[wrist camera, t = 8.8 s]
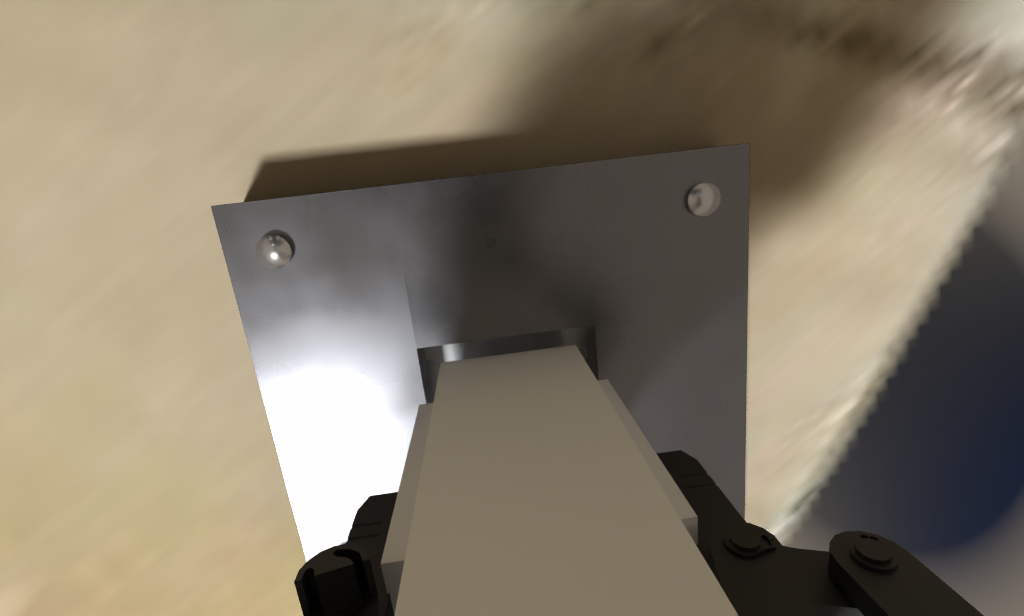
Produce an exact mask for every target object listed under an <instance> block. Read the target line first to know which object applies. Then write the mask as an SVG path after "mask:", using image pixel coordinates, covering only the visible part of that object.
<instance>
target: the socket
mask: <svg viewBox="0 0 1024 616" xmlns="http://www.w3.org/2000/svg"><path fill="white" fill-rule="evenodd" d="M749 162H750V143H746V144H737V145H729V146H720V147H712V148H703V149H695V150H686V151H678V152H669V153H660V154H652V155H643V156H635V157H626V158H618V159H609V160H601V161H592V162H583V163H575V164H566V165H558V166H549V167H541V168H532V169H524V170H515V171H506V172H498V173H489V174H481V175H472V176H464V177H455V178H447V179H438V180H430V181H421V182H412V183H404V184H395V185H387V186H378V187H370V188H361V189H353V190H344V191H335V192H327V193H318V194H310V195H301V196H293V197H284V198H276V199H267V200H259V201H250V202H241V203H233V204H224V205H216V206H211V208H212V212H213V216H214V219H215V223H216V227H217V230H218V234H219V238H220V242H221V245H222V249H223V253H224V256H225V260H226V264H227V268H228V271H229V275H230V279H231V282H232V286H233V290H234V293H235V297H236V301H237V305H238V308H239V312H240V316H241V319H242V323H243V327H244V331H245V334H246V338H247V342H248V345H249V349H250V353H251V357H252V360H253V364H254V368H255V371H256V375H257V379H258V382H259V386H260V390H261V394H262V397H263V401H264V405H265V408H266V412H267V416H268V420H269V423H270V427H271V431H272V434H273V438H274V442H275V445H276V449H277V453H278V457H279V460H280V464H281V468H282V471H283V475H284V479H285V483H286V486H287V490H288V494H289V497H290V501H291V505H292V508H293V512H294V516H295V520H296V523H297V527H298V531H299V534H300V538H301V542H302V546H303V549H304V553H305V557H306V560H307V561H308V560H309V559H311V558H312V557H314V556H315V555H316V554H318V553H319V552H321V551H323V550H326V549H328V548H331V547H333V546H337V545H343V544H345V543H346V542H347V538H348V535H349V532H350V529H351V528H352V524H353V521H354V518H355V515H356V512H357V510H358V509H359V508H360V506H361V505H362V504H363V503H364V502H365V501H366V500H367V499H368V497H369V496H372V495H379V494H386V493H393V492H398V490H399V486H400V482H401V478H402V474H403V470H404V465H405V461H406V457H407V453H408V449H409V445H410V441H411V437H412V433H413V428H414V424H415V420H416V416H417V412H418V408H419V405H421V404H429V403H433V402H434V396H435V391H436V386H437V380H438V375H439V369H440V364H441V362H449V361H456V360H464V359H471V358H479V357H486V356H494V355H502V354H509V353H517V352H524V351H532V350H539V349H547V348H554V347H562V346H570V345H576V346H577V348H578V349H579V351H580V353H581V354H582V356H583V358H584V359H585V361H586V363H587V364H588V366H589V368H590V369H591V371H592V373H593V374H594V376H595V378H596V379H597V381H598V380H605V379H608V381H609V382H610V384H611V385H612V387H613V388H614V390H615V391H616V393H617V394H618V396H619V397H620V399H621V400H622V402H623V404H624V405H625V407H626V408H627V410H628V411H629V413H630V414H631V416H632V417H633V419H634V420H635V422H636V423H637V425H638V426H639V428H640V429H641V431H642V433H643V434H644V436H645V437H646V439H647V440H648V442H649V443H650V445H651V446H652V448H653V449H654V451H655V452H656V453H663V452H670V451H677V450H682V451H683V452H685V453H687V454H688V455H690V456H692V457H693V458H695V459H697V460H698V461H699V463H700V464H701V465H702V466H703V468H704V469H705V470H706V472H707V474H708V475H710V477H711V478H712V479H713V481H714V482H715V483H716V486H718V487H719V488H720V489H721V491H722V492H723V493H724V495H725V496H726V497H727V498H728V500H729V501H730V502H731V503H732V505H733V506H734V507H735V509H736V510H737V511H738V512H739V514H740V515H741V516H742V517H743V519H744V515H745V444H746V374H747V303H748V233H749Z"/></svg>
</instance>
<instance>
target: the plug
mask: <svg viewBox="0 0 1024 616" xmlns="http://www.w3.org/2000/svg"><path fill="white" fill-rule="evenodd" d="M394 616H738V614H737V612H736V611H735V609H734V607H733V606H732V604H731V602H730V601H729V599H728V597H727V596H726V594H725V592H724V591H723V589H722V587H721V586H720V584H719V582H718V581H717V579H716V577H715V576H714V574H713V572H712V571H711V569H710V567H709V566H708V564H707V562H706V561H705V559H704V557H703V556H702V554H701V552H700V551H699V549H698V547H697V546H696V544H695V542H694V541H693V539H692V537H691V536H690V534H689V533H688V531H687V529H686V528H685V526H684V524H683V523H682V521H681V519H680V518H679V516H678V514H677V513H676V511H675V509H674V508H673V506H672V504H671V503H670V501H669V499H668V498H667V496H666V494H665V493H664V491H663V489H662V488H661V486H660V484H659V483H658V481H657V479H656V478H655V476H654V474H653V473H652V471H651V469H650V468H649V466H648V464H647V463H646V461H645V459H644V458H643V456H642V454H641V453H640V451H639V449H638V448H637V446H636V444H635V443H634V441H633V439H632V438H631V436H630V434H629V433H628V431H627V429H626V428H625V426H624V424H623V423H622V421H621V419H620V418H619V416H618V414H617V413H616V411H615V409H614V408H613V406H612V404H611V403H610V401H609V399H608V398H607V396H606V394H605V393H604V391H603V389H602V388H601V386H600V384H599V383H598V381H597V379H596V378H595V376H594V374H593V373H592V371H591V369H590V368H589V366H588V364H587V363H586V361H585V359H584V358H583V356H582V354H581V353H580V351H579V349H578V348H577V346H576V345H570V346H562V347H554V348H547V349H539V350H532V351H524V352H517V353H509V354H502V355H494V356H486V357H479V358H471V359H464V360H456V361H449V362H441V364H440V369H439V375H438V380H437V386H436V391H435V396H434V402H433V407H432V413H431V418H430V424H429V429H428V435H427V440H426V446H425V451H424V457H423V462H422V468H421V473H420V479H419V484H418V490H417V495H416V500H415V506H414V511H413V517H412V522H411V528H410V533H409V539H408V544H407V550H406V555H405V561H404V566H403V572H402V577H401V583H400V588H399V593H398V599H397V604H396V610H395V615H394Z"/></svg>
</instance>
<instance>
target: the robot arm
mask: <svg viewBox="0 0 1024 616" xmlns="http://www.w3.org/2000/svg"><path fill="white" fill-rule="evenodd" d="M598 383H599V384H600V386H601V388H602V389H603V391H604V393H605V394H606V396H607V398H608V399H609V401H610V403H611V404H612V406H613V408H614V409H615V411H616V413H617V414H618V416H619V418H620V419H621V421H622V423H623V424H624V426H625V428H626V429H627V431H628V433H629V434H630V436H631V438H632V439H633V441H634V443H635V444H636V446H637V448H638V449H639V451H640V453H641V454H642V456H643V458H644V459H645V461H646V463H647V464H648V466H649V468H650V469H651V471H652V473H653V474H654V476H655V478H656V479H657V481H658V483H659V484H660V486H661V488H662V489H663V491H664V493H665V494H666V496H667V498H668V499H669V501H670V503H671V504H672V506H673V508H674V509H675V511H676V513H677V514H678V516H679V518H680V519H681V521H682V523H683V524H684V526H685V528H686V529H687V531H688V533H689V534H690V536H691V537H692V539H693V541H694V542H695V544H696V546H697V547H698V549H699V551H700V552H701V554H702V556H703V557H704V559H705V561H706V562H707V564H708V566H709V567H710V569H711V571H712V572H713V574H714V576H715V577H716V579H717V581H718V582H719V584H720V586H721V587H722V589H723V591H724V592H725V594H726V596H727V597H728V599H729V601H730V602H731V604H732V606H733V607H734V609H735V611H736V612H737V614H738V616H983V615H982V614H981V613H980V612H979V611H978V610H976V609H975V608H974V607H973V606H972V605H970V604H969V603H968V602H967V601H966V600H965V599H963V598H962V597H961V596H960V595H959V594H958V593H956V592H955V591H954V590H952V588H950V587H949V586H948V585H947V584H946V583H945V582H943V581H942V580H941V579H940V578H939V577H938V576H936V575H935V574H934V573H933V572H932V571H930V570H929V569H928V568H927V567H926V566H924V565H923V564H922V563H921V562H920V561H919V560H917V559H916V558H915V557H914V556H913V555H911V554H910V553H909V552H908V551H907V550H905V549H904V548H902V547H901V546H899V545H898V544H896V543H895V542H893V541H891V540H888V539H886V538H884V537H881V536H879V535H876V534H872V533H867V532H862V531H845V532H842V533H840V534H837V535H835V536H834V537H833V538H832V540H831V541H830V546H829V552H826V551H816V550H806V549H797V548H791V547H786V546H783V545H781V544H780V542H779V541H778V540H777V539H776V537H775V536H774V535H772V534H771V533H769V532H768V531H766V530H765V529H764V528H761V527H759V526H756V525H753V524H751V523H746V521H745V520H744V519H743V517H742V516H741V515H740V514H739V512H738V511H737V510H736V509H735V507H734V506H733V505H732V503H731V502H730V501H729V500H728V498H727V497H726V496H725V495H724V493H723V492H722V491H721V489H720V488H719V487H718V486H716V483H715V482H714V481H713V479H712V478H711V477H710V475H708V474H707V472H706V470H705V469H704V468H703V466H702V465H701V464H700V463H699V461H698V460H697V459H695V458H693V457H692V456H690V455H688V454H687V453H685V452H683V451H682V450H677V451H670V452H663V453H656V452H655V451H654V449H653V448H652V446H651V445H650V443H649V442H648V440H647V439H646V437H645V436H644V434H643V433H642V431H641V429H640V428H639V426H638V425H637V423H636V422H635V420H634V419H633V417H632V416H631V414H630V413H629V411H628V410H627V408H626V407H625V405H624V404H623V402H622V400H621V399H620V397H619V396H618V394H617V393H616V391H615V390H614V388H613V387H612V385H611V384H610V382H609V381H608V379H605V380H598ZM432 407H433V403H429V404H421V405H419V408H418V412H417V416H416V420H415V424H414V428H413V433H412V437H411V441H410V445H409V449H408V453H407V457H406V461H405V465H404V470H403V474H402V478H401V482H400V486H399V490H398V492H393V493H386V494H379V495H372V496H369V497H368V499H367V500H366V501H365V502H364V503H363V504H362V505H361V506H360V508H359V509H358V510H357V512H356V515H355V518H354V521H353V524H352V528H351V529H350V532H349V535H348V538H347V542H346V543H345V544H343V545H337V546H333V547H331V548H328V549H326V550H323V551H321V552H319V553H318V554H316V555H315V556H314V557H312V558H311V559H309V560H308V561H307V562H306V563H305V564H304V566H303V567H302V568H301V569H300V570H299V572H298V574H297V577H296V579H295V581H294V583H295V587H296V590H297V594H298V597H299V601H300V604H301V608H302V611H303V615H304V616H394V615H395V610H396V604H397V599H398V593H399V588H400V583H401V577H402V572H403V566H404V561H405V555H406V550H407V544H408V539H409V533H410V528H411V522H412V517H413V511H414V506H415V500H416V495H417V490H418V484H419V479H420V473H421V468H422V462H423V457H424V451H425V446H426V440H427V435H428V429H429V424H430V418H431V413H432Z"/></svg>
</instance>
